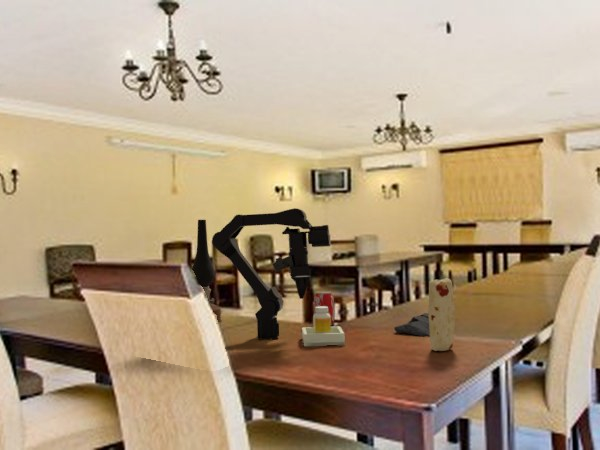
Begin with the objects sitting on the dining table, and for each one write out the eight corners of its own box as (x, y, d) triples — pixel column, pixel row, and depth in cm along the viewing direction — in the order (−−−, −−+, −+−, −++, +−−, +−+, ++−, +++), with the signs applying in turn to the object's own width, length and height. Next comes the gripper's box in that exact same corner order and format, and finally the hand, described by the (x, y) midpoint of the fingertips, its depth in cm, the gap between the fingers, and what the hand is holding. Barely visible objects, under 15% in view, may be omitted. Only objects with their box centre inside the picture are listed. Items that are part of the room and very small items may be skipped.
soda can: (332, 327, 191) (331, 293, 191) (312, 327, 193) (312, 293, 193) (335, 324, 198) (334, 291, 198) (316, 323, 199) (315, 290, 200)
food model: (447, 354, 146) (445, 280, 146) (423, 352, 150) (422, 279, 150) (459, 348, 154) (458, 277, 154) (437, 345, 157) (435, 276, 158)
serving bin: (304, 346, 160) (303, 334, 160) (302, 338, 172) (302, 327, 172) (344, 345, 160) (344, 333, 160) (340, 337, 172) (339, 326, 172)
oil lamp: (205, 335, 199) (210, 228, 192) (174, 325, 207) (178, 221, 200) (228, 324, 211) (234, 223, 204) (198, 315, 219) (203, 217, 211)
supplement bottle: (310, 338, 167) (309, 306, 168) (325, 336, 170) (324, 305, 170) (318, 340, 163) (317, 308, 163) (334, 339, 165) (333, 307, 165)
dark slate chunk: (386, 334, 179) (385, 320, 179) (414, 324, 196) (413, 311, 196) (430, 339, 170) (429, 323, 170) (455, 328, 187) (455, 314, 187)
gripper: (273, 248, 182) (275, 295, 182) (272, 250, 164) (275, 302, 163) (306, 246, 183) (308, 293, 182) (309, 248, 164) (312, 299, 164)
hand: (300, 297), depth 173 cm, fingers open, 9 cm apart
